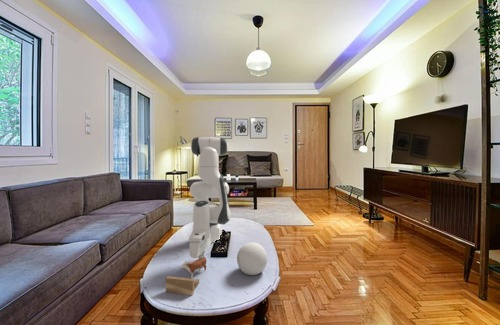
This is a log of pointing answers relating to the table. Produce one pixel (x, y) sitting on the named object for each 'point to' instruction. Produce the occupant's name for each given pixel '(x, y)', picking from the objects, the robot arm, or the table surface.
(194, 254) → the robot arm
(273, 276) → the table surface
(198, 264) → the bull figurine
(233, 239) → the table surface
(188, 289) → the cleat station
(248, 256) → the decorative object
